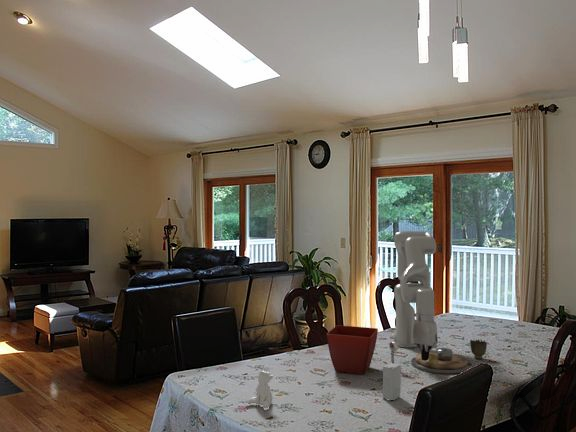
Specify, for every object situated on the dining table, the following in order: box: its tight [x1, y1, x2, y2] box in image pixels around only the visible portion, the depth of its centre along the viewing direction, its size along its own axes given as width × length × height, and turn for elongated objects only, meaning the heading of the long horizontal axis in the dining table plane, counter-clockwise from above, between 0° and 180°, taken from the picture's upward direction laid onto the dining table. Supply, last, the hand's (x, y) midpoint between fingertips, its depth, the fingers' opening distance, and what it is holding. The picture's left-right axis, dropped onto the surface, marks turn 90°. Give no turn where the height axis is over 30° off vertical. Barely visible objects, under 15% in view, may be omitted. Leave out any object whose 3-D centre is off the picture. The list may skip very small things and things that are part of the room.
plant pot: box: [326, 324, 379, 375], centre depth 226 cm, size 19×19×17 cm
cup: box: [469, 339, 488, 360], centre depth 243 cm, size 8×7×8 cm
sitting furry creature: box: [245, 370, 274, 409], centre depth 185 cm, size 10×9×12 cm
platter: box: [415, 351, 468, 369], centre depth 232 cm, size 22×22×6 cm
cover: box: [435, 347, 453, 361], centre depth 231 cm, size 7×7×4 cm
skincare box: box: [382, 362, 402, 401], centre depth 191 cm, size 6×4×12 cm
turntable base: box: [410, 356, 473, 375], centre depth 232 cm, size 26×26×1 cm
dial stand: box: [388, 341, 400, 364], centre depth 228 cm, size 6×5×12 cm
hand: (425, 359), depth 226 cm, fingers closed
